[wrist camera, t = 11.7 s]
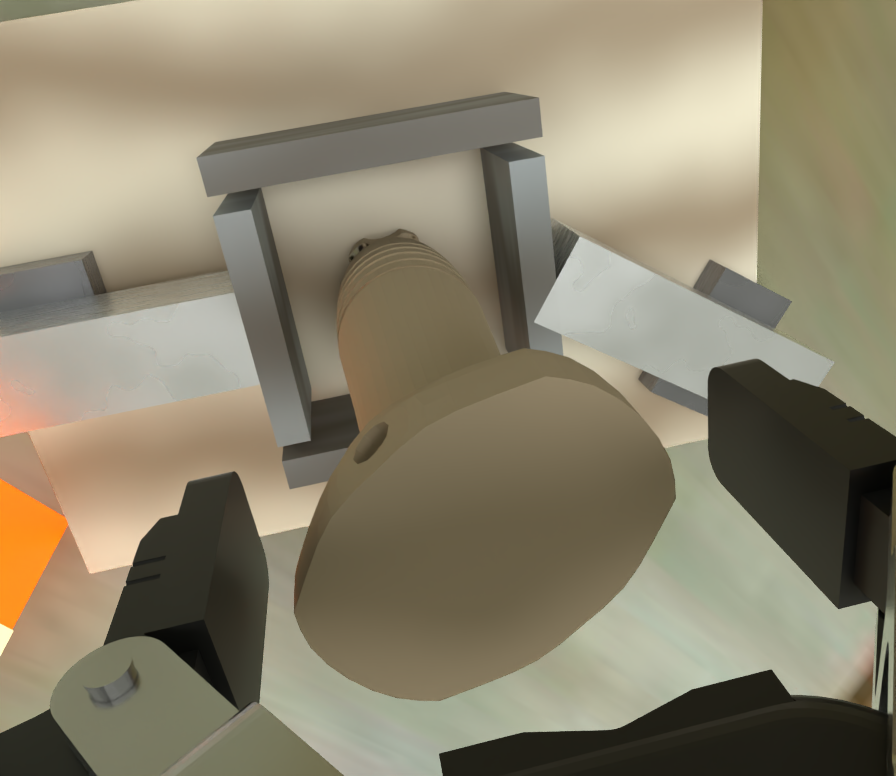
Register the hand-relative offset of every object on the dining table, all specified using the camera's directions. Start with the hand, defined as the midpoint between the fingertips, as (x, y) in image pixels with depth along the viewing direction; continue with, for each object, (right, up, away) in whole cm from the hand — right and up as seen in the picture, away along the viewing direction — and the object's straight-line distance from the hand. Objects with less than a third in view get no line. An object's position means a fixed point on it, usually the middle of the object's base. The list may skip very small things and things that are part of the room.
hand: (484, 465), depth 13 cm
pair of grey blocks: (-2, +3, +14) cm, 14 cm away
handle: (-3, +5, +13) cm, 14 cm away
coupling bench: (-3, +6, +13) cm, 15 cm away
